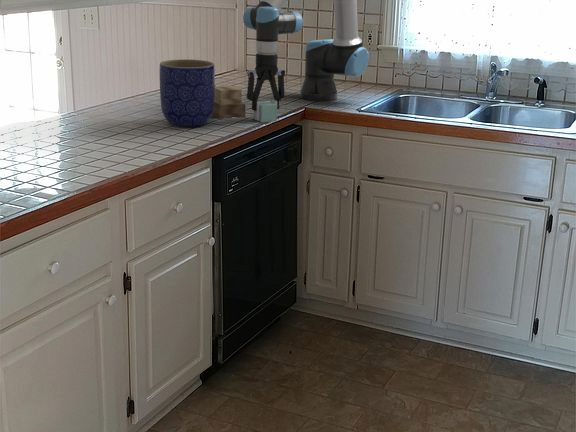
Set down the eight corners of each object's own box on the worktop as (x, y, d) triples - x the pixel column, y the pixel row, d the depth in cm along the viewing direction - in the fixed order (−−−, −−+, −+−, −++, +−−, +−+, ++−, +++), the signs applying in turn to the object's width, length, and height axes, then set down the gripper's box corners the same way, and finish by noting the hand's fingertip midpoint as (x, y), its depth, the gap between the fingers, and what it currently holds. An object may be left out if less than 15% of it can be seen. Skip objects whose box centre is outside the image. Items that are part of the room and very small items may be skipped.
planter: (200, 132, 267) (199, 69, 260) (150, 126, 273) (149, 64, 266) (223, 121, 284) (223, 61, 277) (176, 116, 289) (175, 57, 283)
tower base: (234, 112, 300) (234, 98, 298) (245, 117, 292) (245, 103, 290) (208, 114, 296) (208, 100, 294) (219, 119, 287) (219, 105, 286)
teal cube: (269, 117, 292) (269, 101, 290) (276, 121, 287) (277, 104, 285) (254, 118, 289) (254, 102, 287) (261, 122, 284) (261, 105, 282)
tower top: (232, 99, 297) (232, 85, 296) (241, 103, 291) (241, 89, 289) (212, 100, 294) (212, 86, 292) (220, 104, 287) (220, 90, 285)
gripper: (286, 50, 288) (284, 114, 295) (236, 52, 279) (236, 118, 287) (296, 53, 281) (294, 119, 289) (245, 55, 273) (244, 123, 281)
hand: (265, 118), depth 288 cm, fingers open, 6 cm apart
